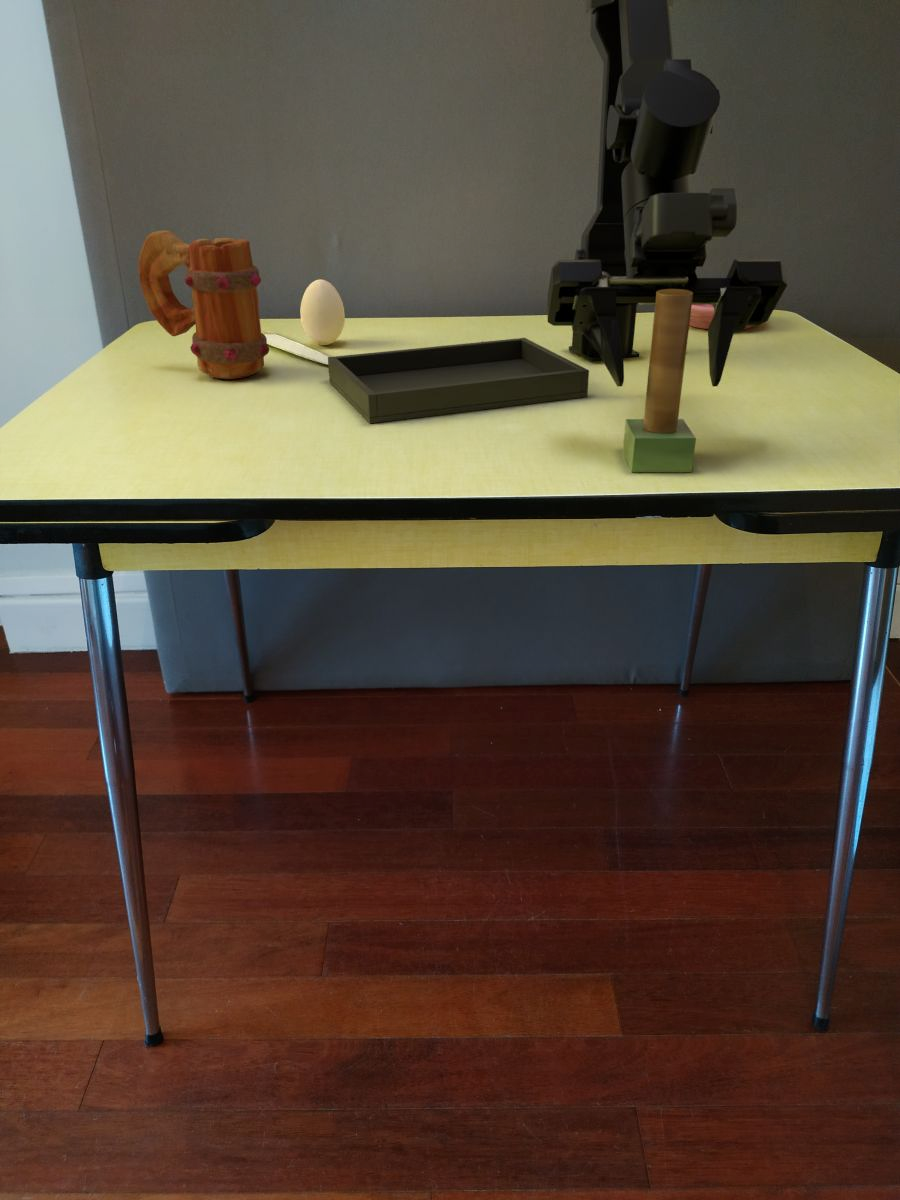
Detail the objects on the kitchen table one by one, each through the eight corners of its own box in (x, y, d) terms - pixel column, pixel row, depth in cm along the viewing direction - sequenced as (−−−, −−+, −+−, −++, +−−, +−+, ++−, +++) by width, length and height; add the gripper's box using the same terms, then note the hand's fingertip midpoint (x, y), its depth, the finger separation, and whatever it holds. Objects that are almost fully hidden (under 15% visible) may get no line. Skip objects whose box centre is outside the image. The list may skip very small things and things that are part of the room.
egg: (351, 340, 117) (347, 276, 113) (339, 350, 113) (335, 284, 109) (310, 339, 118) (305, 275, 114) (297, 349, 113) (291, 283, 110)
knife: (362, 373, 107) (327, 374, 104) (227, 321, 129) (195, 320, 126) (363, 362, 106) (328, 363, 103) (227, 311, 129) (195, 311, 126)
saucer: (669, 313, 131) (671, 290, 129) (758, 315, 129) (762, 292, 127) (676, 332, 120) (678, 308, 118) (773, 335, 118) (777, 310, 117)
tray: (524, 361, 107) (524, 337, 106) (587, 396, 95) (589, 370, 93) (329, 382, 100) (327, 356, 99) (369, 423, 87) (368, 395, 86)
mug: (287, 368, 105) (274, 229, 98) (252, 387, 99) (235, 239, 91) (179, 358, 110) (159, 224, 102) (138, 376, 103) (113, 234, 96)
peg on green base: (622, 451, 80) (637, 286, 73) (679, 452, 80) (699, 286, 73) (631, 472, 76) (648, 298, 69) (691, 472, 76) (714, 298, 69)
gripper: (557, 149, 70) (562, 327, 65) (801, 147, 69) (823, 327, 65) (545, 244, 81) (548, 402, 76) (756, 243, 80) (772, 402, 76)
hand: (668, 383), depth 73 cm, fingers open, 7 cm apart
